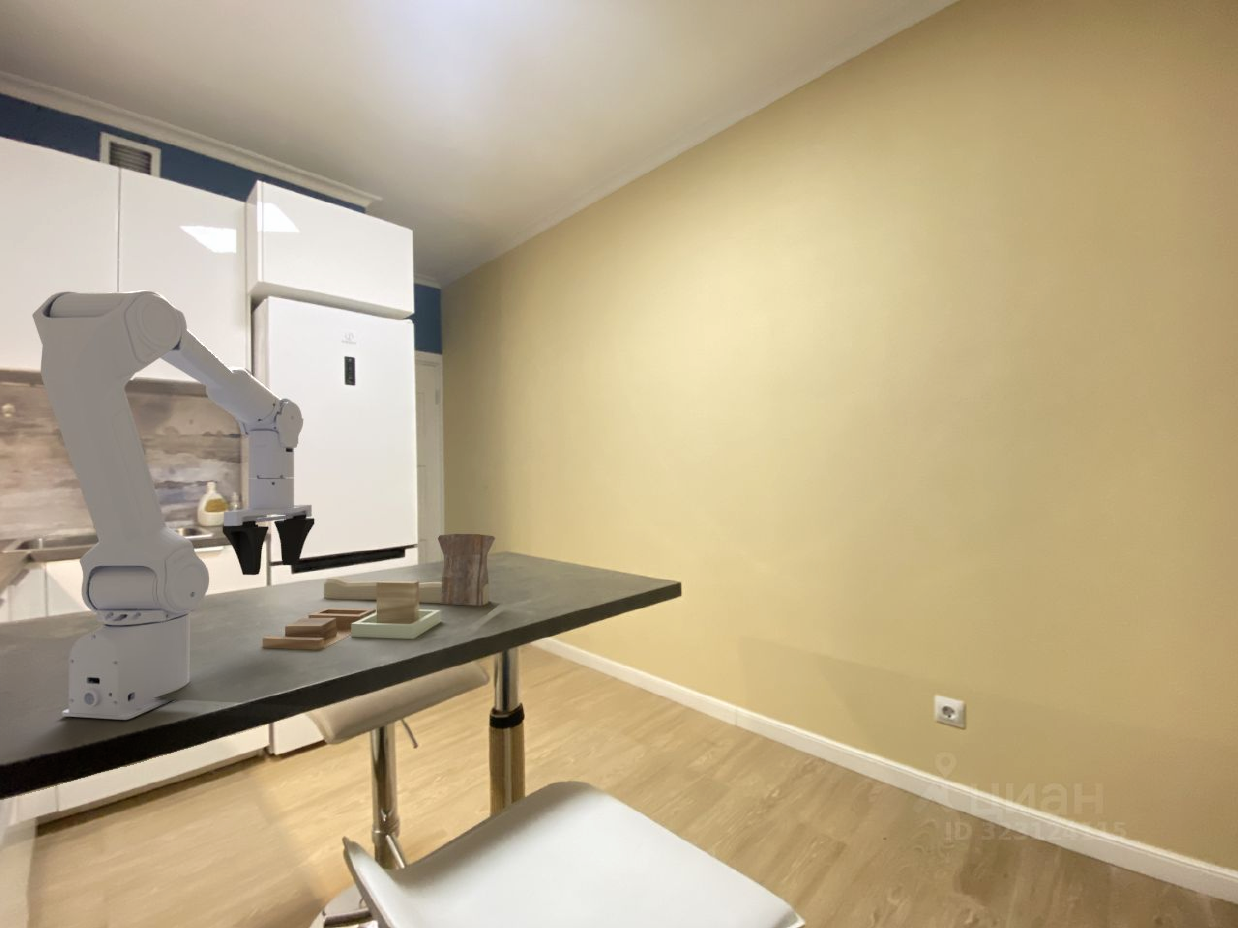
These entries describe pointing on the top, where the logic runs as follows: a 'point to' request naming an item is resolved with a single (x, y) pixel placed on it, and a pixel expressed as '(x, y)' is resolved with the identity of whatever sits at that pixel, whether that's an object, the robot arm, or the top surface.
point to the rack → (343, 630)
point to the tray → (395, 626)
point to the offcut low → (325, 635)
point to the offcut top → (310, 626)
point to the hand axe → (459, 577)
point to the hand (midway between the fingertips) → (271, 569)
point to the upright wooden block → (397, 602)
